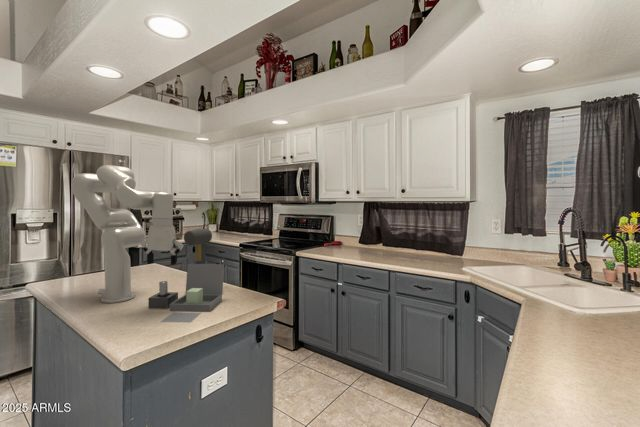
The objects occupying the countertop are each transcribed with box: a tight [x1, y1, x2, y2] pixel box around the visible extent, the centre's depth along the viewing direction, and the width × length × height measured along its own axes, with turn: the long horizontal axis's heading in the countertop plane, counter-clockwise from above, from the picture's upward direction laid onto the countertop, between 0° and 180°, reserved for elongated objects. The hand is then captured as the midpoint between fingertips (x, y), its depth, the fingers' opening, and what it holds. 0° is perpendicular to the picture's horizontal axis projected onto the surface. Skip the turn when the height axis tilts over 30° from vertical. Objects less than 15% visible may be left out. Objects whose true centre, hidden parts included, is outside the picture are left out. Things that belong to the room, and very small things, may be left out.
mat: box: [160, 312, 202, 323], centre depth 113 cm, size 11×9×1 cm
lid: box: [185, 263, 225, 296], centre depth 134 cm, size 16×13×1 cm
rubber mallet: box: [183, 228, 213, 264], centre depth 148 cm, size 12×8×30 cm, turn 159°
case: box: [169, 293, 223, 312], centre depth 126 cm, size 16×13×3 cm
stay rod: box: [158, 280, 169, 297], centre depth 126 cm, size 3×3×10 cm
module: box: [185, 288, 203, 304], centre depth 124 cm, size 4×5×7 cm
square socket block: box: [148, 291, 179, 309], centre depth 126 cm, size 8×8×4 cm
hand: (162, 263), depth 126 cm, fingers open, 9 cm apart
